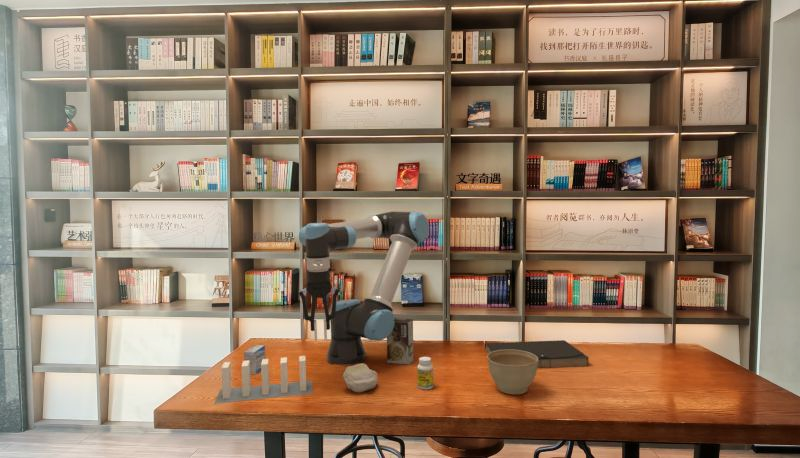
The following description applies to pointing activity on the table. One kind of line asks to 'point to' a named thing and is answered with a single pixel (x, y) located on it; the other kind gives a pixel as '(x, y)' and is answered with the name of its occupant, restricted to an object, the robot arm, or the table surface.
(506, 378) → the planter bowl
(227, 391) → the domino
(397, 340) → the coffee box
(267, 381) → the domino
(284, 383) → the domino
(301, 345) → the table surface
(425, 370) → the supplement bottle
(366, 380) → the fossil replica
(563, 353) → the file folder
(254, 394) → the mat
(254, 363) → the medicine box
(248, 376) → the domino
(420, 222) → the robot arm
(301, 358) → the domino
